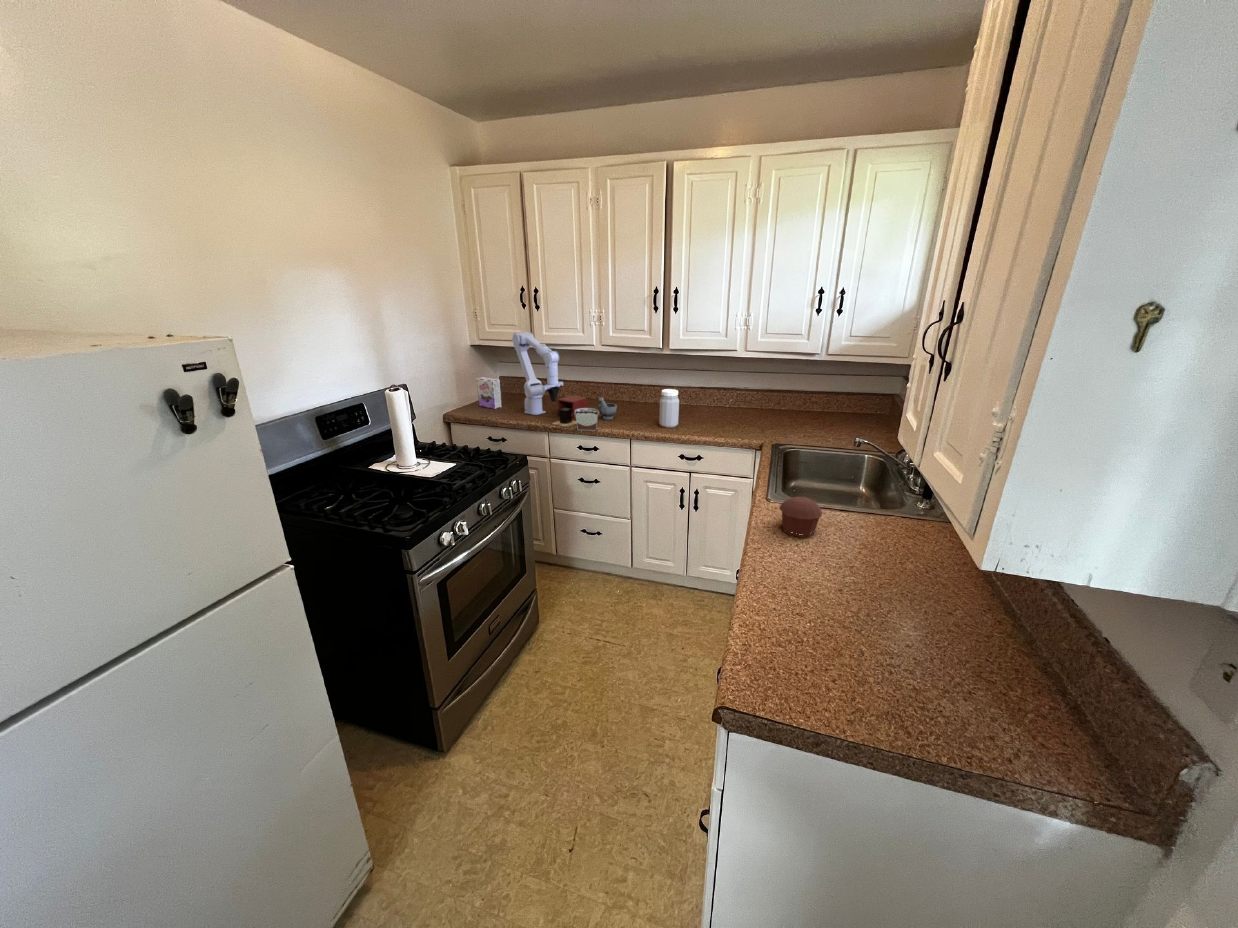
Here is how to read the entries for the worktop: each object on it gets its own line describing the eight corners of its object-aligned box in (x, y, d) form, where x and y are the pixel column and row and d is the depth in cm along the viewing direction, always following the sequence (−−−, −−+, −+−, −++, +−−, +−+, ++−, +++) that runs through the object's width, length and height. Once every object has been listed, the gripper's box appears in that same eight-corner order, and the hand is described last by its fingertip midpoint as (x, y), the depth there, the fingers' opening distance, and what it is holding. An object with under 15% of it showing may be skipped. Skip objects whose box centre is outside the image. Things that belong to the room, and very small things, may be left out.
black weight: (559, 422, 246) (559, 409, 243) (565, 420, 249) (564, 407, 247) (566, 424, 244) (565, 410, 241) (571, 422, 247) (571, 408, 245)
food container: (601, 427, 241) (600, 407, 237) (599, 430, 235) (599, 411, 231) (576, 426, 242) (576, 407, 238) (574, 430, 236) (574, 410, 232)
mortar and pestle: (607, 414, 263) (607, 393, 259) (620, 417, 257) (620, 395, 253) (593, 418, 255) (592, 396, 251) (606, 422, 249) (605, 399, 245)
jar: (675, 422, 249) (676, 388, 242) (680, 427, 240) (682, 392, 233) (656, 423, 247) (657, 388, 241) (661, 428, 238) (662, 393, 232)
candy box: (478, 406, 281) (475, 378, 275) (486, 404, 285) (483, 376, 279) (494, 409, 273) (491, 380, 267) (502, 407, 278) (499, 379, 272)
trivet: (552, 424, 245) (552, 423, 245) (564, 419, 253) (564, 418, 253) (567, 427, 240) (567, 426, 240) (579, 422, 248) (579, 421, 248)
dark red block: (558, 415, 261) (557, 399, 258) (571, 410, 271) (571, 395, 268) (574, 418, 256) (573, 401, 253) (587, 413, 265) (587, 397, 262)
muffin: (815, 523, 146) (820, 493, 142) (821, 541, 135) (827, 510, 132) (775, 519, 148) (779, 490, 144) (778, 537, 138) (782, 505, 134)
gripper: (549, 378, 239) (550, 405, 244) (567, 374, 251) (568, 399, 256) (538, 377, 243) (540, 403, 248) (557, 372, 254) (558, 398, 259)
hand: (553, 401), depth 252 cm, fingers closed
